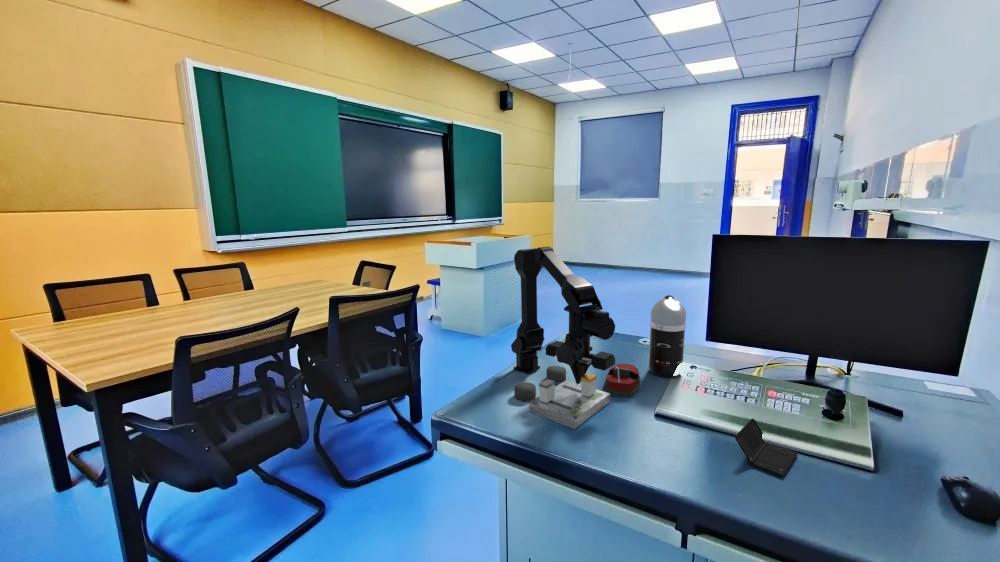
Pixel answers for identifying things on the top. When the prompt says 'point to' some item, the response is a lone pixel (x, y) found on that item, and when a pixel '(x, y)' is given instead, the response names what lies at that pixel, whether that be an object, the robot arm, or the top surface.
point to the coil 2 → (556, 374)
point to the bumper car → (622, 381)
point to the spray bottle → (666, 336)
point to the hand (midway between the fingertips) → (578, 384)
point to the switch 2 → (588, 384)
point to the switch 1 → (547, 390)
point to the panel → (570, 405)
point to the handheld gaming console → (764, 451)
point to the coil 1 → (525, 391)
